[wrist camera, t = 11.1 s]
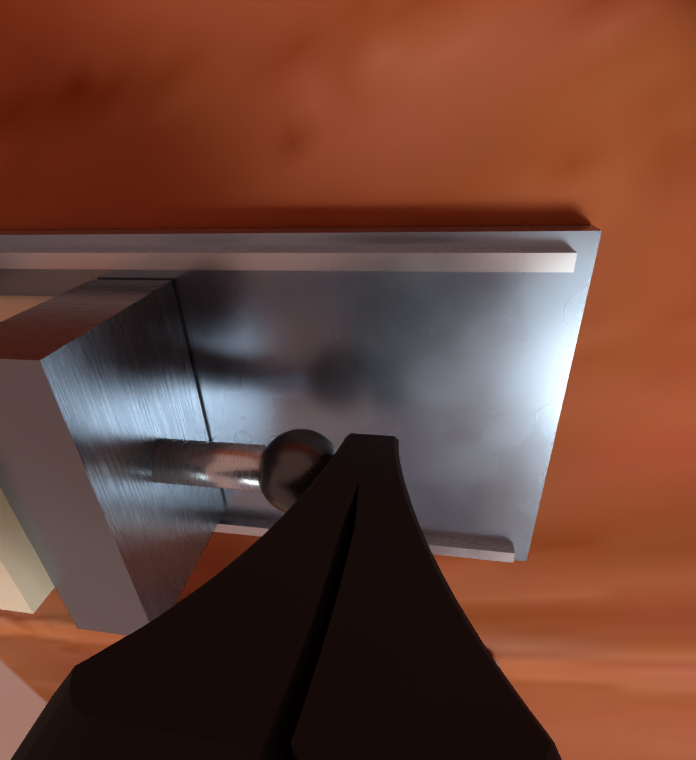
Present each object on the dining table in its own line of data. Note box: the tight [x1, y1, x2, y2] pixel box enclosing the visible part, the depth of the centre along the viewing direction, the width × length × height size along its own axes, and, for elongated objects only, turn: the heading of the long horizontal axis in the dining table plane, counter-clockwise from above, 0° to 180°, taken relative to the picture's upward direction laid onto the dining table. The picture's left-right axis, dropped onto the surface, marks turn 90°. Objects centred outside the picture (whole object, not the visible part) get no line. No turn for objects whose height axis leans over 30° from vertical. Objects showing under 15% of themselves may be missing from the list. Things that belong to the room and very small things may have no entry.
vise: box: [0, 225, 602, 562], centre depth 12 cm, size 10×20×5 cm, turn 92°
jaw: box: [0, 280, 337, 636], centre depth 11 cm, size 8×7×4 cm
